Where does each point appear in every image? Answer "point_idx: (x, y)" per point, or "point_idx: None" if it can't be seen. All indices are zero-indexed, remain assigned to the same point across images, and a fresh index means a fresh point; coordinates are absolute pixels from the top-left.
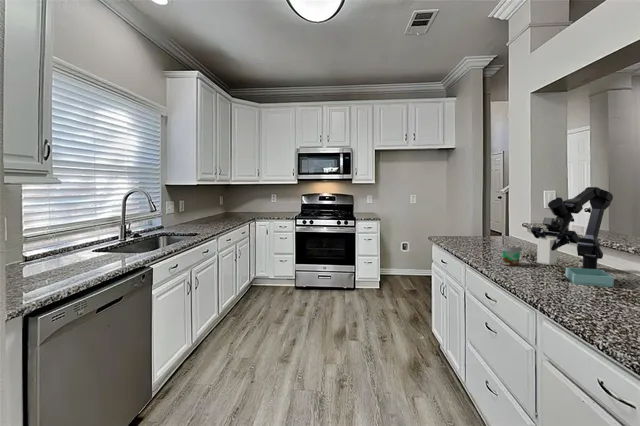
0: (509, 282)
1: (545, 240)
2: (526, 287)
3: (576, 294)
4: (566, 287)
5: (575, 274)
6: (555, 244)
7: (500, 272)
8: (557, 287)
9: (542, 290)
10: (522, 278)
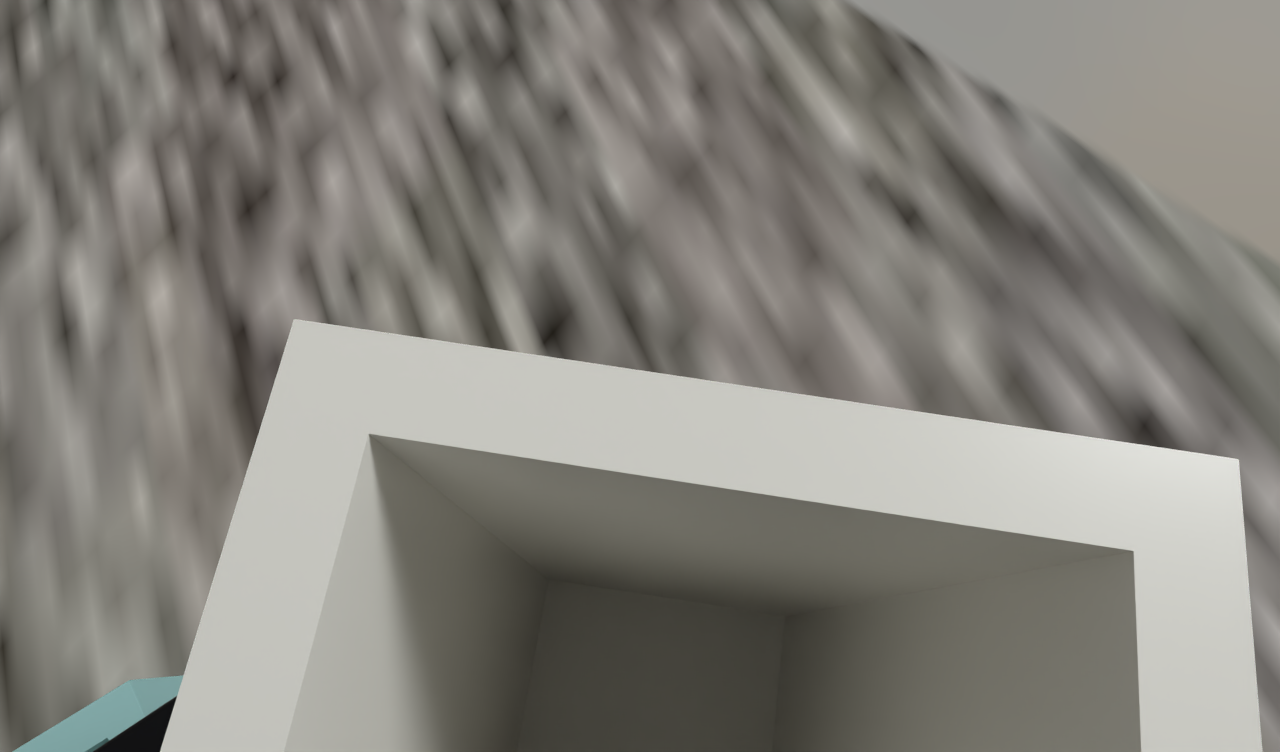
0: (832, 61)
1: (624, 387)
2: (593, 14)
3: (88, 155)
4: (250, 374)
5: (107, 715)
6: (172, 703)
7: (1275, 470)
8: (336, 283)
9: (419, 32)
10: (854, 376)
